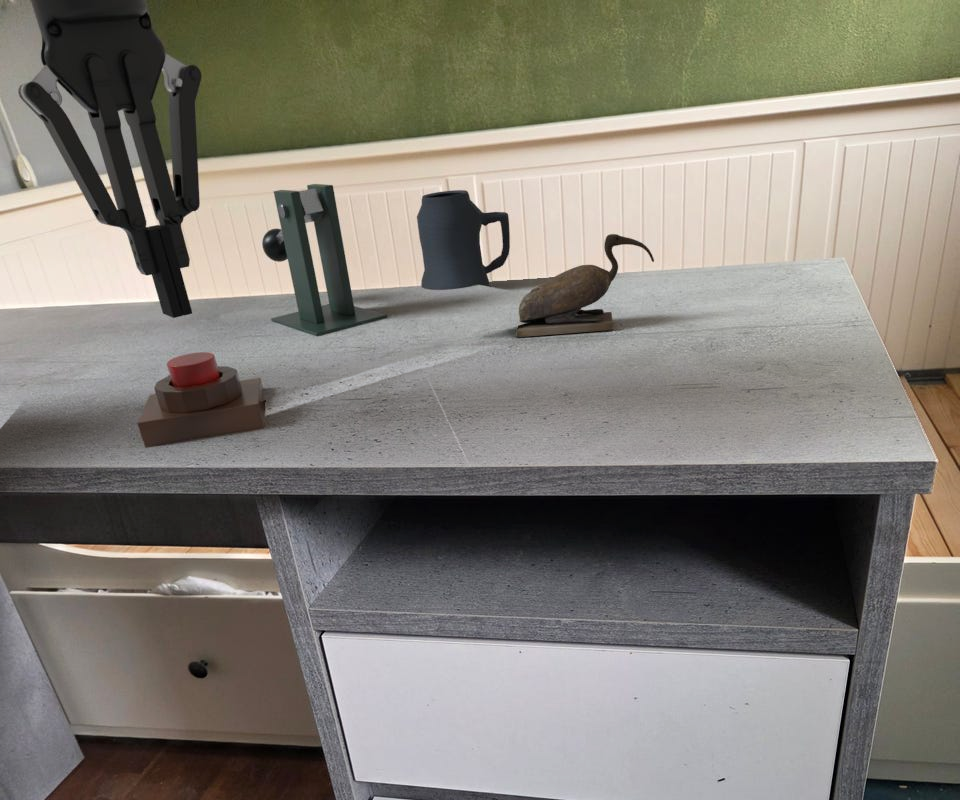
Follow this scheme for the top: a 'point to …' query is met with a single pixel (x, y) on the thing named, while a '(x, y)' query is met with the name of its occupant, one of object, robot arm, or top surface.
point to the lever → (274, 237)
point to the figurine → (572, 298)
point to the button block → (202, 409)
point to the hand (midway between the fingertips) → (177, 313)
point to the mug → (456, 241)
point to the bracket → (333, 263)
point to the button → (193, 369)
